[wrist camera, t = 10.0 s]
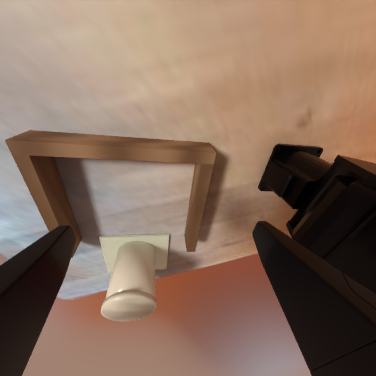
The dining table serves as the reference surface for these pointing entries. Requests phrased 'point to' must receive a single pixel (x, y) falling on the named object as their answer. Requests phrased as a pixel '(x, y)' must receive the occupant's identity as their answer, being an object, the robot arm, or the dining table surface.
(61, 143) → the cradle
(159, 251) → the pad
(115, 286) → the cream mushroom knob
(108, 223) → the dining table surface
